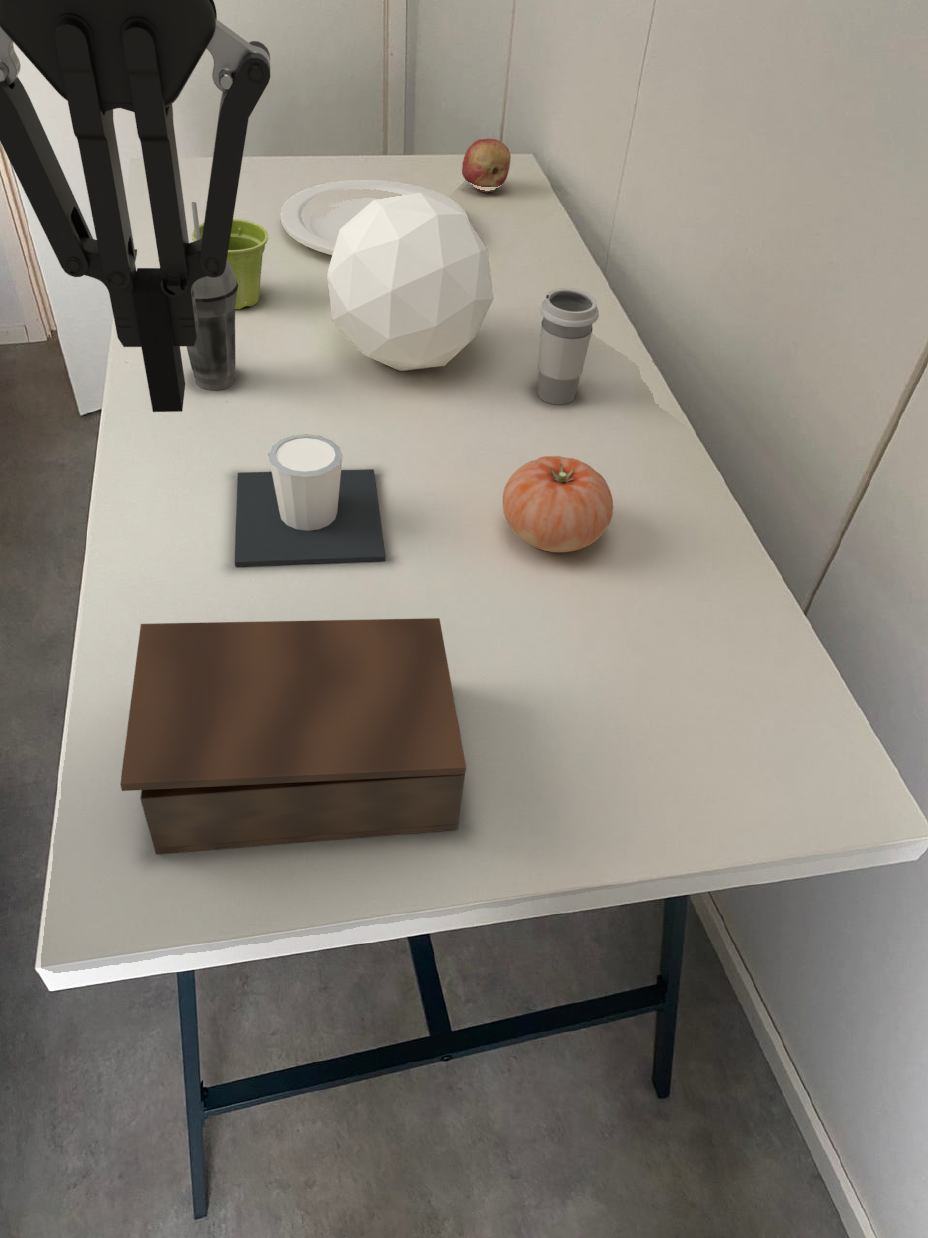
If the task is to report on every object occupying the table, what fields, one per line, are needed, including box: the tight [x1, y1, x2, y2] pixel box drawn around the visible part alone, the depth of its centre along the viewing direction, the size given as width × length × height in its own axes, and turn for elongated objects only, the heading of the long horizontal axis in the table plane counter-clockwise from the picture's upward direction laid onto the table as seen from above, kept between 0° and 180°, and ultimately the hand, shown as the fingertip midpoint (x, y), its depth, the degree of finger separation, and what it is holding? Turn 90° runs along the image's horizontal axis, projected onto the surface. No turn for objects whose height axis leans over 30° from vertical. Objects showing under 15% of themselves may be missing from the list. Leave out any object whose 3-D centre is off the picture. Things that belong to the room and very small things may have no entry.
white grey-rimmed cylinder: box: [268, 433, 343, 531], centre depth 93 cm, size 7×7×7 cm
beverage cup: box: [186, 201, 238, 391], centre depth 105 cm, size 7×7×20 cm
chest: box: [140, 773, 466, 855], centre depth 72 cm, size 22×15×7 cm
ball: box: [326, 193, 495, 372], centre depth 113 cm, size 19×20×20 cm
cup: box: [536, 287, 600, 406], centre depth 112 cm, size 7×7×12 cm
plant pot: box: [191, 218, 269, 310], centre depth 124 cm, size 9×9×9 cm
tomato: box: [502, 455, 614, 553], centre depth 94 cm, size 11×11×8 cm
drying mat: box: [234, 468, 386, 568], centre depth 96 cm, size 14×14×1 cm
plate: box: [279, 178, 470, 256], centre depth 144 cm, size 28×28×2 cm
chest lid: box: [119, 617, 467, 792], centre depth 69 cm, size 23×15×1 cm, turn 98°
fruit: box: [461, 138, 512, 194], centre depth 157 cm, size 8×8×8 cm
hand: (169, 397), depth 51 cm, fingers closed
